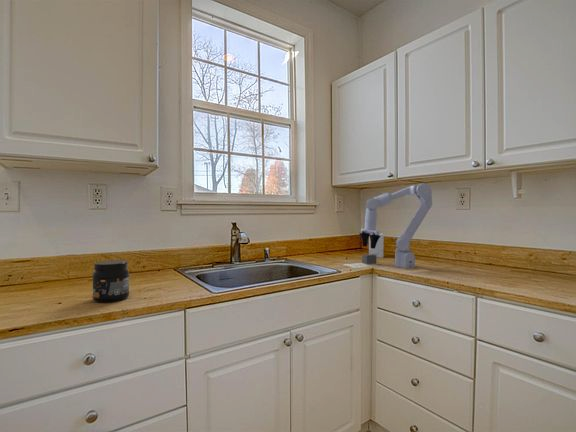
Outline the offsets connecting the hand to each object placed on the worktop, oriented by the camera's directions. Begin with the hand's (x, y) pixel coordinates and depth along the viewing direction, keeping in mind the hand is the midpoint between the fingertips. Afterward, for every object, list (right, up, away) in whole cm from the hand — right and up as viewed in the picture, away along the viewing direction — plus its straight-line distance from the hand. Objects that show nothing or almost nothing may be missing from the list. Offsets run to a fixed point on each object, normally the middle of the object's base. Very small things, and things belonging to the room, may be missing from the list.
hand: (368, 247), depth 164 cm
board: (-4, -10, -3) cm, 11 cm away
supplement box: (+15, -10, +38) cm, 42 cm away
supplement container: (-100, -11, -62) cm, 118 cm away
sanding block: (0, -9, -1) cm, 9 cm away
